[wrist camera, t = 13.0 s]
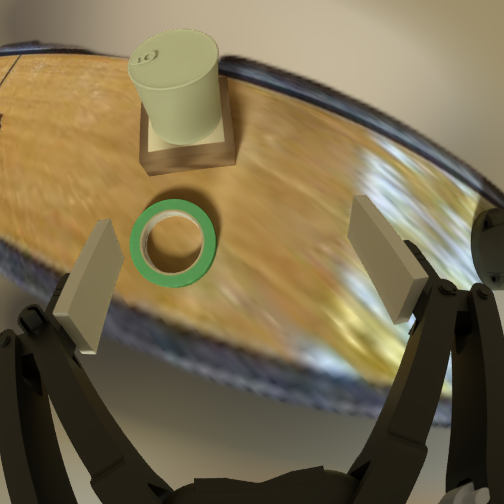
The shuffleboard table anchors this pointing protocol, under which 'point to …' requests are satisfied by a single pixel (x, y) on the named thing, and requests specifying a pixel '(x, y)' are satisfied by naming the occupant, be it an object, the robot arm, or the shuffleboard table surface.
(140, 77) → the can
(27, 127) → the shuffleboard table surface
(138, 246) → the tape roll
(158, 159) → the plinth
